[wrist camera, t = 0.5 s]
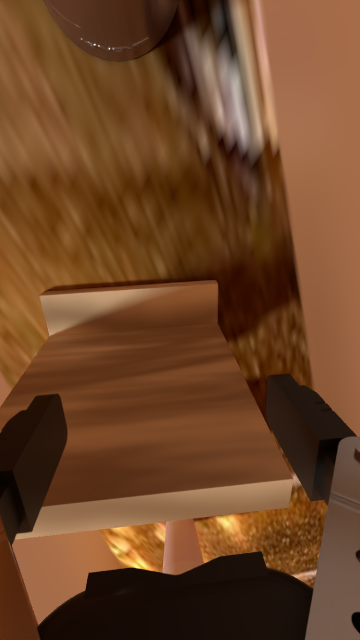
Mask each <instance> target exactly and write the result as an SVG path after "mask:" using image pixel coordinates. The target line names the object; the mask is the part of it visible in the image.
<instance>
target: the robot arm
mask: <svg viewBox="0 0 360 640" xmlns="http://www.w3.org/2000/svg"><path fill="white" fill-rule="evenodd" d="M43 1H44V2H45V4H46V6H47V7H48V9H49V11H50V13H51V14H52V16H53V18H54V19H55V21H56V22H57V23H58V25H59V26H60V28H61V29H62V30H63V32H64V33H65V34H66V35H67V36H68V37H69V38H70V39H71V40H72V41H73V42H74V43H75V44H76V45H77V46H78V47H80V48H81V49H83V50H85V51H86V52H88V53H89V54H91V55H93V56H96V57H98V58H101V59H104V60H109V61H118V62H120V61H126V60H133V59H135V58H137V57H139V56H142V55H144V54H146V53H147V52H148V51H149V50H151V49H152V48H153V47H154V46H156V45H157V44H158V42H159V41H160V40H161V39H162V37H163V36H164V35H165V33H166V32H167V30H168V28H169V26H170V24H171V22H172V20H173V18H174V16H175V12H176V9H177V5H178V2H179V0H43ZM266 417H267V421H268V424H269V426H270V428H271V430H272V432H273V434H274V435H275V437H276V439H277V441H278V443H279V444H280V446H281V448H282V450H283V452H284V453H285V455H286V457H287V459H288V461H289V463H290V464H291V466H292V468H293V470H294V472H295V473H296V475H297V477H298V479H299V481H300V482H301V484H302V486H303V488H304V490H305V492H306V493H307V495H308V497H309V499H310V501H317V500H325V502H326V504H327V505H328V508H327V514H326V520H325V526H324V532H323V538H322V543H321V549H320V555H319V561H318V567H317V573H316V578H315V584H314V589H312V588H311V587H309V586H308V585H307V584H305V583H304V582H302V581H300V580H299V579H297V578H295V577H293V576H291V575H289V574H287V573H285V572H282V571H279V570H276V569H272V568H267V567H266V565H265V562H264V558H263V555H262V552H261V551H260V552H252V553H244V554H236V555H228V556H220V557H218V558H216V559H213V560H211V561H209V562H207V563H204V564H202V565H200V566H198V567H195V568H193V569H191V570H189V571H186V572H184V573H182V574H179V575H171V574H166V573H160V572H155V571H149V570H143V569H138V568H124V569H116V570H109V571H100V572H92V573H89V574H88V579H87V584H86V590H85V591H84V592H81V593H79V594H77V595H76V596H74V597H72V598H70V599H69V600H67V601H66V602H65V603H63V604H62V605H60V606H59V607H58V608H57V609H55V610H54V611H53V612H52V613H51V614H50V615H48V617H46V618H45V619H44V620H43V621H42V622H41V623H40V624H39V625H38V622H37V619H36V617H35V614H34V611H33V608H32V605H31V602H30V599H29V596H28V593H27V590H26V587H25V584H24V581H23V578H22V575H21V572H20V569H19V566H18V563H17V560H16V557H15V554H14V551H13V548H12V544H13V541H14V539H15V537H16V535H17V534H20V533H29V532H32V531H33V528H34V526H35V523H36V520H37V518H38V515H39V513H40V510H41V508H42V505H43V502H44V500H45V497H46V495H47V492H48V490H49V487H50V484H51V482H52V479H53V477H54V474H55V472H56V469H57V467H58V464H59V461H60V459H61V456H62V454H63V451H64V449H65V446H66V443H67V436H68V431H67V424H66V420H65V415H64V410H63V406H62V401H61V397H60V395H59V394H46V395H37V396H35V398H34V399H33V400H32V402H31V403H30V405H29V406H28V408H27V409H26V410H21V411H20V412H18V413H17V414H16V415H15V416H13V417H12V418H11V419H9V420H8V422H7V423H6V424H5V426H4V427H3V428H2V430H1V433H0V640H360V437H357V436H356V435H355V433H354V432H353V431H352V430H351V429H350V428H349V427H348V426H347V425H346V424H345V423H344V422H343V420H342V419H341V418H340V417H339V416H338V415H337V414H336V413H335V412H334V411H332V409H331V408H330V407H329V405H328V404H326V403H325V401H324V400H323V399H322V398H321V397H320V396H319V395H318V393H316V392H315V391H313V390H311V389H310V388H308V387H306V386H299V385H298V383H297V382H296V381H295V380H294V379H293V378H292V376H291V375H289V374H282V375H270V376H269V377H268V380H267V395H266Z"/></svg>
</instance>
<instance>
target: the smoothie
mask: <svg viewBox="0 0 360 640" xmlns="http://www.w3.org/2000/svg"><path fill="white" fill-rule="evenodd" d="M202 564H204V561H203V557H202V553H201V549H200V545H199V541H198V537H197V533H196V529H195V525H194V520H193V519H185V520H177V521H168V522H166V534H165V548H164V562H163V573H166V574H171V575H179V574H182V573H184V572H186V571H189V570H191V569H193V568H195V567H198V566H200V565H202Z"/></svg>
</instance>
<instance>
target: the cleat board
mask: <svg viewBox="0 0 360 640" xmlns="http://www.w3.org/2000/svg"><path fill="white" fill-rule="evenodd" d="M40 300H41V304H42V308H43V311H44V315H45V319H46V323H47V327H48V331H49V335H50V336H49V338H48V339H47V341H46V342H45V344H44V345H43V346H42V348H41V349H40V351H39V352H38V354H37V355H36V357H35V358H34V359H33V361H32V362H31V364H30V365H29V367H28V368H27V369H26V371H25V372H24V374H23V375H22V377H21V378H20V380H19V381H18V382H17V384H16V385H15V387H14V388H13V390H12V391H11V392H10V394H9V395H8V397H7V398H6V400H5V401H4V403H3V404H2V405H1V407H0V433H1V430H2V428H3V427H4V426H5V424H6V423H7V422H8V420H9V419H11V418H12V417H13V416H15V415H16V414H17V413H18V412H20V411H21V410H26V409H27V408H28V406H29V405H30V403H31V402H32V400H33V399H34V398H35V396H37V395H46V394H59V395H60V397H61V401H62V406H63V410H64V415H65V420H66V424H67V431H68V436H67V443H66V446H65V449H64V451H63V454H62V456H61V459H60V461H59V464H58V467H57V469H56V472H55V474H54V477H53V479H52V482H51V484H50V487H49V490H48V492H47V495H46V497H45V500H44V502H43V505H42V508H41V510H40V513H39V515H38V518H37V520H36V523H35V526H34V528H33V531H32V532H29V533H20V534H17V535H16V537H15V539H22V538H31V537H40V536H48V535H57V534H66V533H74V532H82V531H91V530H100V529H108V528H117V527H125V526H134V525H143V524H151V523H160V522H168V521H177V520H185V519H194V518H202V517H211V516H219V515H228V514H237V513H245V512H254V511H262V510H271V509H279V508H288V507H289V501H290V495H291V489H292V483H293V477H292V475H291V473H290V471H289V469H288V467H287V465H286V463H285V461H284V459H283V457H282V455H281V453H280V451H279V449H278V446H277V444H276V442H275V440H274V438H273V436H272V434H271V432H270V430H269V428H268V426H267V424H266V422H265V420H264V418H263V416H262V413H261V411H260V409H259V407H258V405H257V403H256V401H255V399H254V397H253V395H252V393H251V391H250V389H249V387H248V385H247V383H246V380H245V378H244V376H243V374H242V372H241V370H240V368H239V366H238V364H237V362H236V360H235V358H234V356H233V354H232V352H231V350H230V347H229V345H228V343H227V341H226V339H225V337H224V335H223V333H222V331H221V329H220V327H219V325H218V283H217V281H216V280H207V281H192V282H177V283H163V284H148V285H133V286H118V287H103V288H88V289H74V290H59V291H44V292H43V293H42V294H41V295H40Z"/></svg>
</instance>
